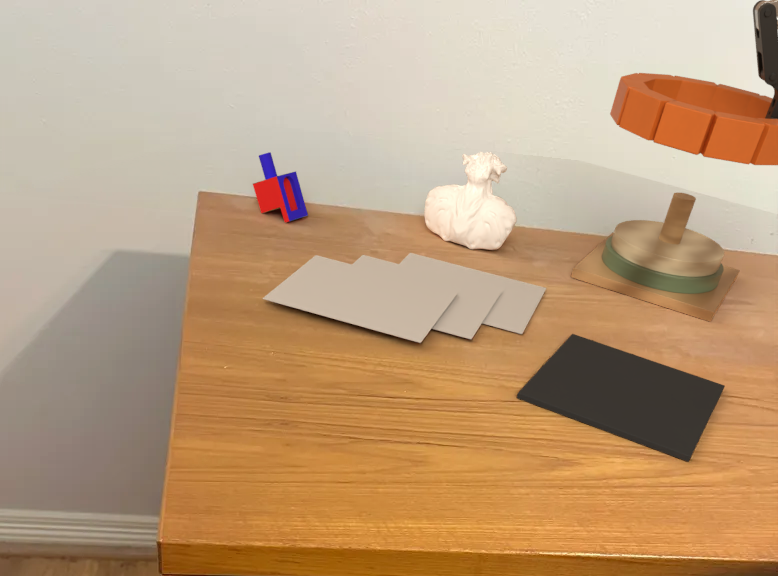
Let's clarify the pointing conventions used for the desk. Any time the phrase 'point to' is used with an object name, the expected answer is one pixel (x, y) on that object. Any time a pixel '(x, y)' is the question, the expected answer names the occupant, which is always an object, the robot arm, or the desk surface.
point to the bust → (472, 206)
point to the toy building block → (279, 191)
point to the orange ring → (698, 117)
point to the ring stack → (662, 263)
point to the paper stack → (409, 296)
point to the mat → (625, 395)
